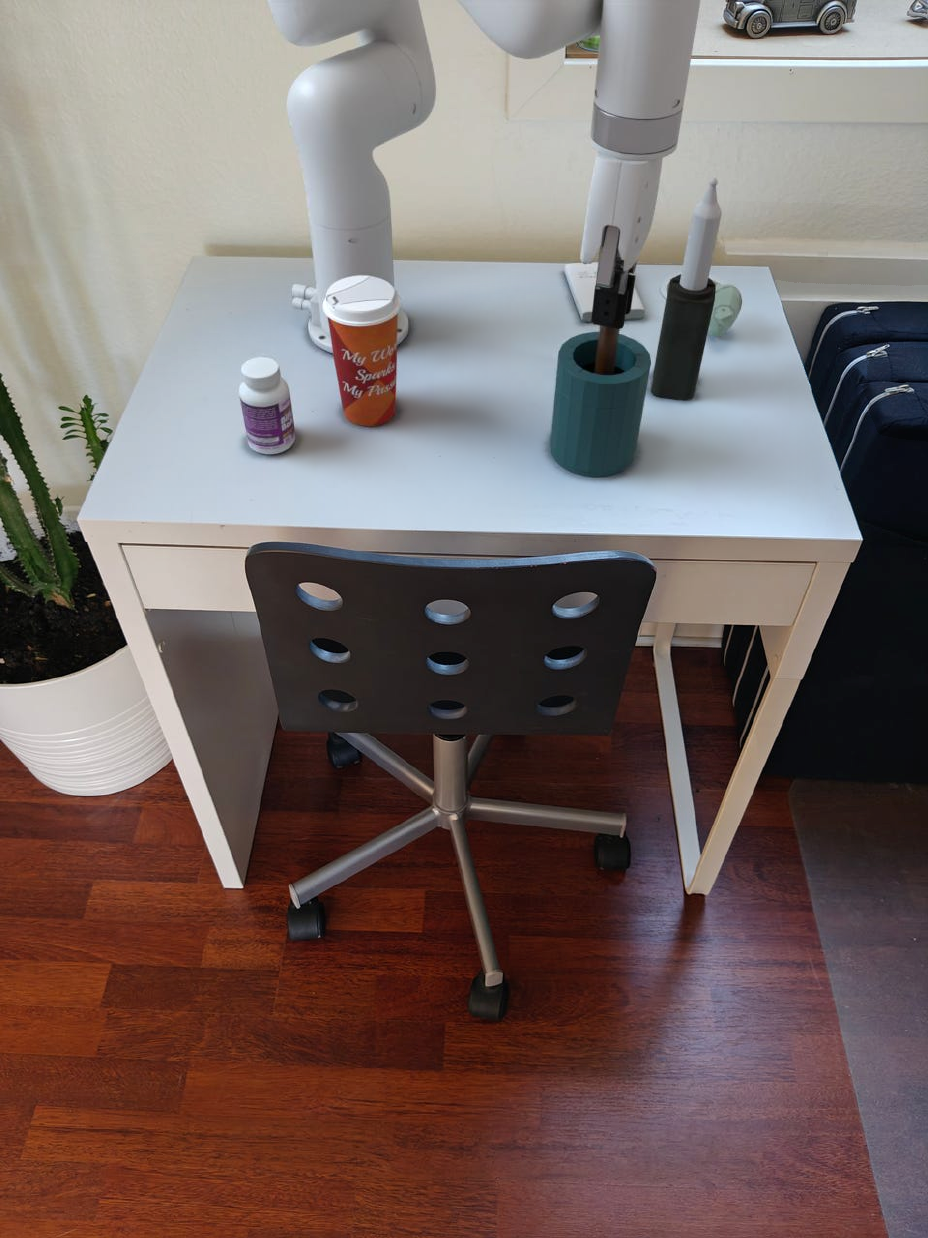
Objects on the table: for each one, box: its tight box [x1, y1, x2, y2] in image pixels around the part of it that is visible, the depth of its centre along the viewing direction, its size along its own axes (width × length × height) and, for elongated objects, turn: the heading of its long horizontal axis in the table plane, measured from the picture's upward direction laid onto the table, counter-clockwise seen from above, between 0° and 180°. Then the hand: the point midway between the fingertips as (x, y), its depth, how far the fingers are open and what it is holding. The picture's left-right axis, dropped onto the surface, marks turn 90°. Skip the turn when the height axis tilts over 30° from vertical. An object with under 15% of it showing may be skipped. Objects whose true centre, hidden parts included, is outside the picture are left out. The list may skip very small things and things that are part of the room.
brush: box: [594, 269, 621, 375], centre depth 102 cm, size 4×4×19 cm
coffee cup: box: [323, 275, 402, 427], centre depth 110 cm, size 8×8×15 cm
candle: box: [650, 177, 723, 401], centre depth 110 cm, size 5×5×25 cm
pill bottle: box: [238, 356, 296, 455], centre depth 108 cm, size 5×5×10 cm
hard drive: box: [564, 261, 646, 323], centre depth 132 cm, size 2×8×12 cm
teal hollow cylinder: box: [549, 331, 652, 478], centre depth 107 cm, size 9×9×12 cm
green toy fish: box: [708, 283, 743, 337], centre depth 124 cm, size 8×4×7 cm, turn 2°
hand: (610, 316), depth 99 cm, fingers closed on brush, 2 cm apart
